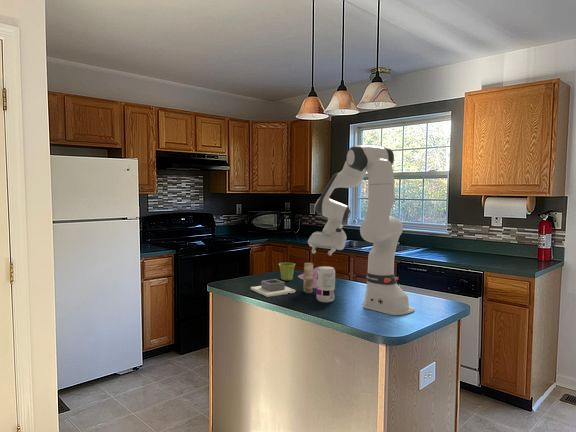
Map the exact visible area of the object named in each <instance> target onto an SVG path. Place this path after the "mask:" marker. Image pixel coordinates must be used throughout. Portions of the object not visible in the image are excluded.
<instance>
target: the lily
mask: <svg viewBox="0 0 576 432" xmlns="http://www.w3.org/2000/svg"><path fill="white" fill-rule="evenodd" d="M319 267H320V266H317V267H315V268H313V289H315V288H316V289H317V270H318V268H319ZM297 277H298V278H299V279H301V280H302V281H304V273H302V274H299V275H297ZM303 288H304V284H303Z"/></svg>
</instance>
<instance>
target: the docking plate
mask: <svg viewBox="0 0 576 432" xmlns="http://www.w3.org/2000/svg"><path fill="white" fill-rule="evenodd" d="M260 284H261V285H258V286H250V291H253V292H255V293H257V294H260V295H263V296H264V297H267V298H269V297H275V296H282V295H289V294H288V293H290V294H296V293H295V292H296V289H293V288H291V287H288V286H286V282H285V281H284V280H283V281H282V280H280V279H277V278H273V279H266V280H261V282H260Z"/></svg>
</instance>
